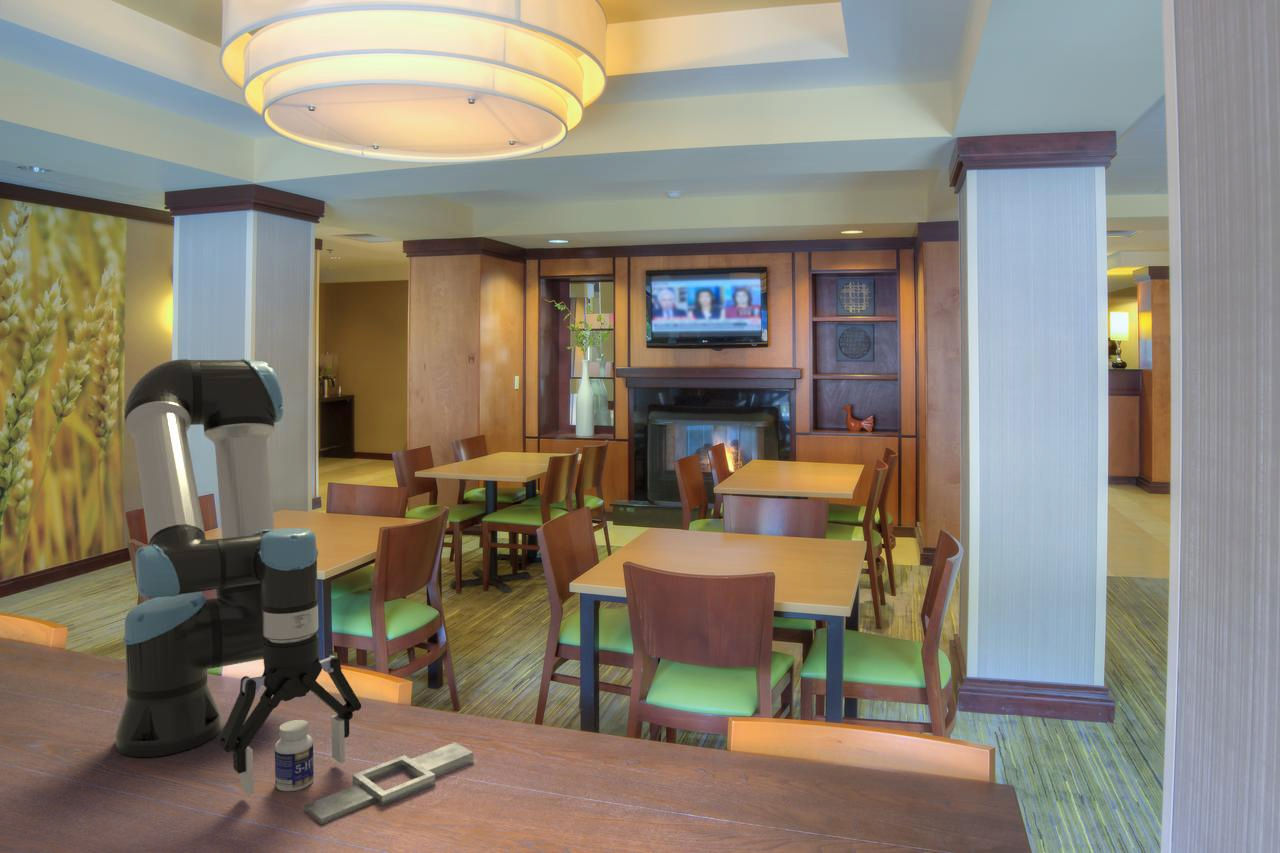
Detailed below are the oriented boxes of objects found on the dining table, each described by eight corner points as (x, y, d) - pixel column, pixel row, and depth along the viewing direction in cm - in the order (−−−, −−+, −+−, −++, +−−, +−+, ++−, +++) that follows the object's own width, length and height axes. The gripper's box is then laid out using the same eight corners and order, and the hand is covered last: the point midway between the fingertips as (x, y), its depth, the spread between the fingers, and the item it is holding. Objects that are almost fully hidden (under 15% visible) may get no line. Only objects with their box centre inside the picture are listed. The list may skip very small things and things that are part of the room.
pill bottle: (299, 794, 119) (298, 734, 118) (267, 790, 120) (266, 731, 119) (321, 776, 124) (319, 719, 123) (290, 772, 125) (288, 716, 124)
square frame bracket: (327, 829, 110) (326, 818, 110) (299, 805, 116) (298, 794, 116) (480, 766, 128) (479, 756, 127) (449, 748, 133) (448, 738, 133)
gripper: (209, 663, 109) (214, 817, 110) (382, 621, 127) (384, 754, 128) (190, 649, 114) (195, 796, 115) (358, 611, 132) (361, 739, 133)
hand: (294, 775), depth 122 cm, fingers open, 13 cm apart
